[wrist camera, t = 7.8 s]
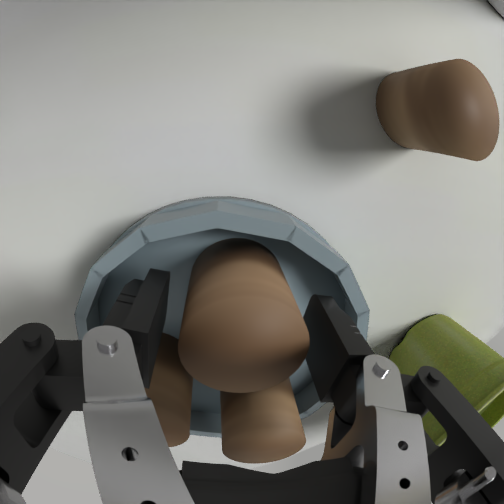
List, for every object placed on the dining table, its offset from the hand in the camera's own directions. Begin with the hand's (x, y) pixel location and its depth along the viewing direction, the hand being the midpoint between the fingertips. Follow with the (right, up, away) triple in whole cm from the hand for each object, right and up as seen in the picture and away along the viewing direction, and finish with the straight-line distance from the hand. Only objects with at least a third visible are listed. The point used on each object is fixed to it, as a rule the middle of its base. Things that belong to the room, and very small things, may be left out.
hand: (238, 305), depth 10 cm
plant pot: (+13, -5, +7) cm, 15 cm away
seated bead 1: (-5, -4, +3) cm, 7 cm away
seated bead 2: (+1, -6, +5) cm, 7 cm away
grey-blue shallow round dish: (-1, -2, +4) cm, 5 cm away
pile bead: (+8, +9, 0) cm, 12 cm away
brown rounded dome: (0, +1, +2) cm, 2 cm away
